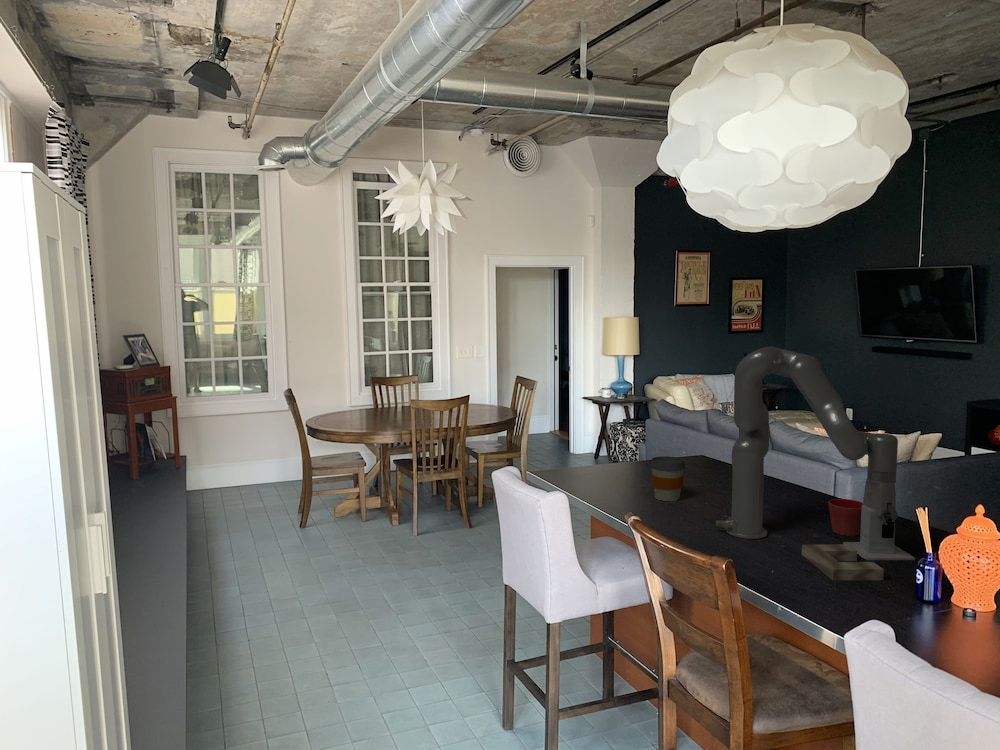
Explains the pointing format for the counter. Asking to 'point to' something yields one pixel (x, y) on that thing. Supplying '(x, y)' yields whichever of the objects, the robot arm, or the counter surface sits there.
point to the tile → (866, 555)
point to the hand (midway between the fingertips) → (878, 532)
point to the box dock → (829, 565)
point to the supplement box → (874, 533)
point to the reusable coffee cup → (667, 477)
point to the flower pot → (845, 516)
